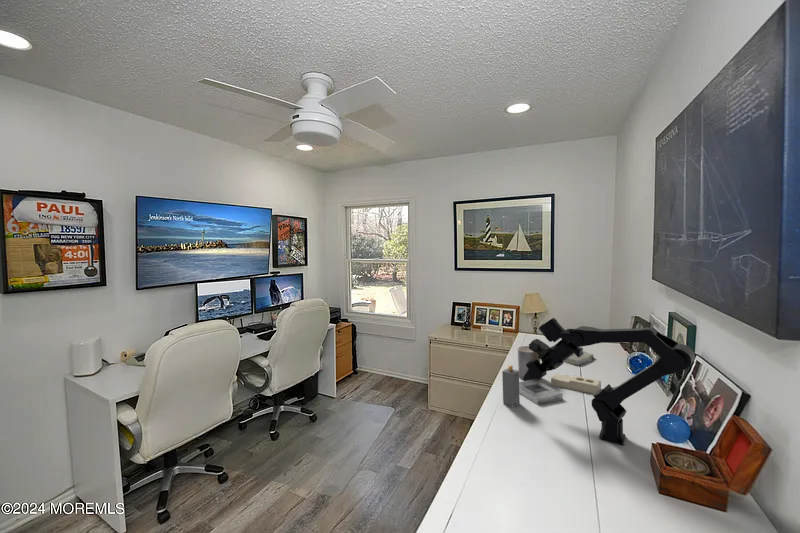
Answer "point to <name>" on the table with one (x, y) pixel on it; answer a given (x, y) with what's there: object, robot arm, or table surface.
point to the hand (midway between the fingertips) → (530, 375)
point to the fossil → (580, 358)
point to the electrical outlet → (576, 383)
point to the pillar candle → (525, 360)
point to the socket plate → (539, 392)
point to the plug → (511, 386)
